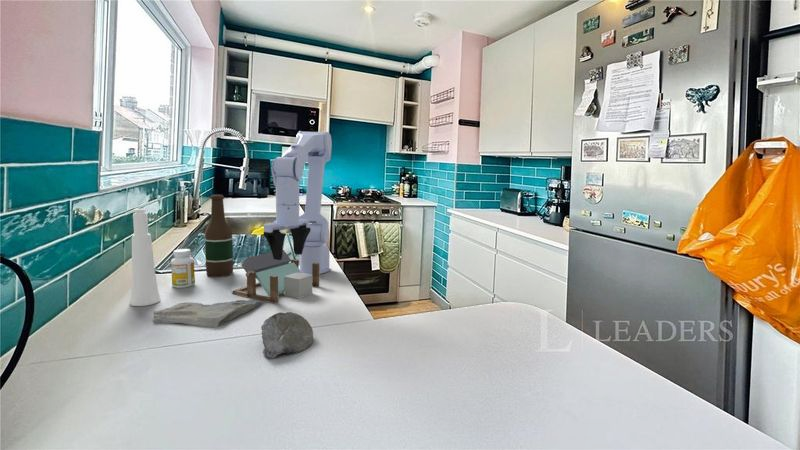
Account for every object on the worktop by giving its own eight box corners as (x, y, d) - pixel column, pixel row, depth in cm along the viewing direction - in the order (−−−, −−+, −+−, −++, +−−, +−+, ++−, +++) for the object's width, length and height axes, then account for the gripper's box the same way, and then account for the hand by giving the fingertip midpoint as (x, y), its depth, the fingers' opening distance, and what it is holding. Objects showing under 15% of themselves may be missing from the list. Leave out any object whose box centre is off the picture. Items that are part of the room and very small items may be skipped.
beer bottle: (225, 269, 121) (222, 193, 118) (238, 273, 117) (236, 195, 114) (200, 274, 115) (197, 194, 112) (214, 278, 111) (211, 195, 107)
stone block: (297, 272, 102) (312, 274, 100) (297, 290, 102) (312, 293, 100) (283, 276, 97) (299, 279, 95) (284, 295, 98) (299, 298, 96)
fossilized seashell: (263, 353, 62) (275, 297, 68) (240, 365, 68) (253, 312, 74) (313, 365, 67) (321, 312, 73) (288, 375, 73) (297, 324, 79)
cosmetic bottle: (159, 296, 94) (154, 207, 91) (161, 303, 89) (156, 209, 86) (129, 300, 90) (123, 208, 88) (129, 308, 86) (123, 210, 83)
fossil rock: (147, 325, 78) (146, 313, 78) (192, 301, 93) (192, 292, 93) (229, 329, 77) (229, 318, 76) (262, 305, 91) (262, 295, 91)
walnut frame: (281, 277, 113) (281, 256, 112) (321, 285, 107) (321, 262, 106) (229, 294, 97) (229, 269, 96) (272, 304, 91) (272, 277, 90)
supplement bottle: (187, 281, 107) (185, 247, 106) (199, 284, 105) (197, 249, 103) (167, 286, 102) (165, 250, 101) (180, 289, 100) (178, 253, 99)
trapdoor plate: (279, 255, 110) (284, 249, 109) (302, 287, 107) (308, 281, 106) (239, 265, 97) (245, 258, 96) (265, 301, 95) (271, 294, 94)
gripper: (294, 202, 106) (295, 250, 107) (254, 205, 93) (255, 259, 94) (315, 203, 103) (315, 253, 104) (276, 207, 90) (276, 263, 91)
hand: (288, 256), depth 99 cm, fingers open, 7 cm apart
